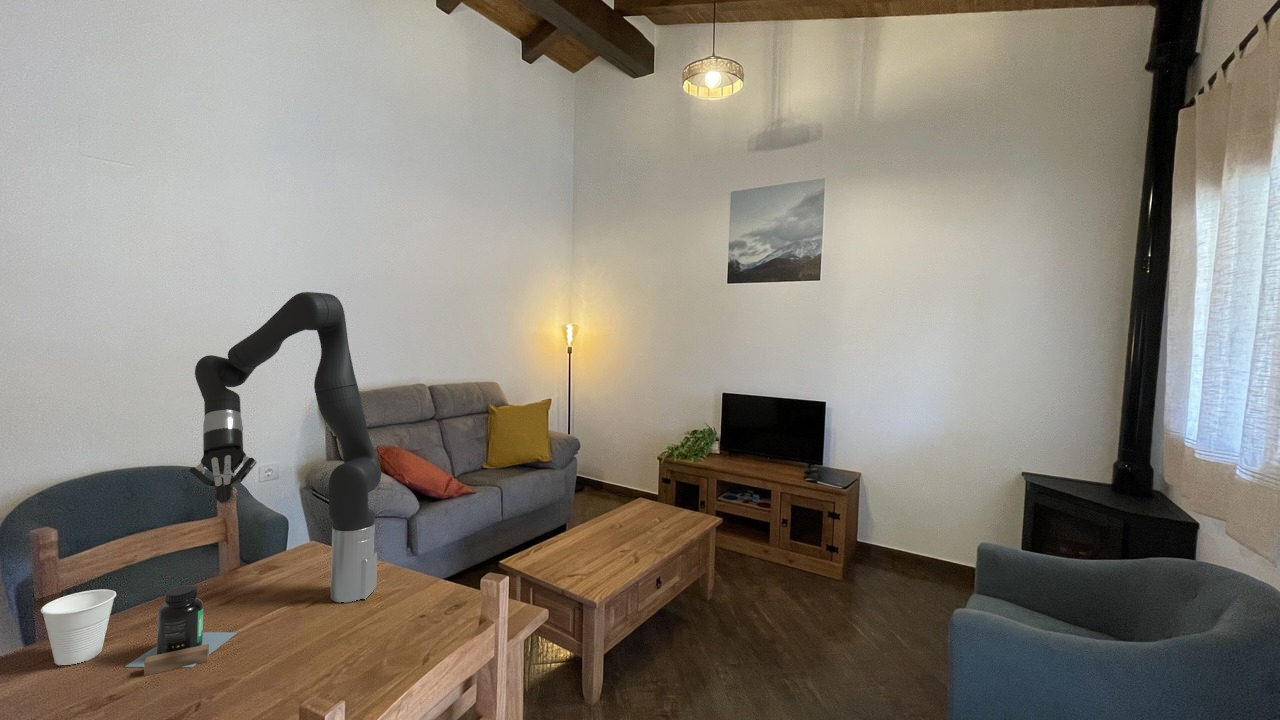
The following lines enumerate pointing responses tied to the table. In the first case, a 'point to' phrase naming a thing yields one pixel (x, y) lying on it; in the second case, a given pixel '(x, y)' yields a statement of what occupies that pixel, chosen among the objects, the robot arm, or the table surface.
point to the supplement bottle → (180, 620)
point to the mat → (208, 638)
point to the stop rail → (176, 659)
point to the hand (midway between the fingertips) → (224, 502)
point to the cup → (78, 625)
